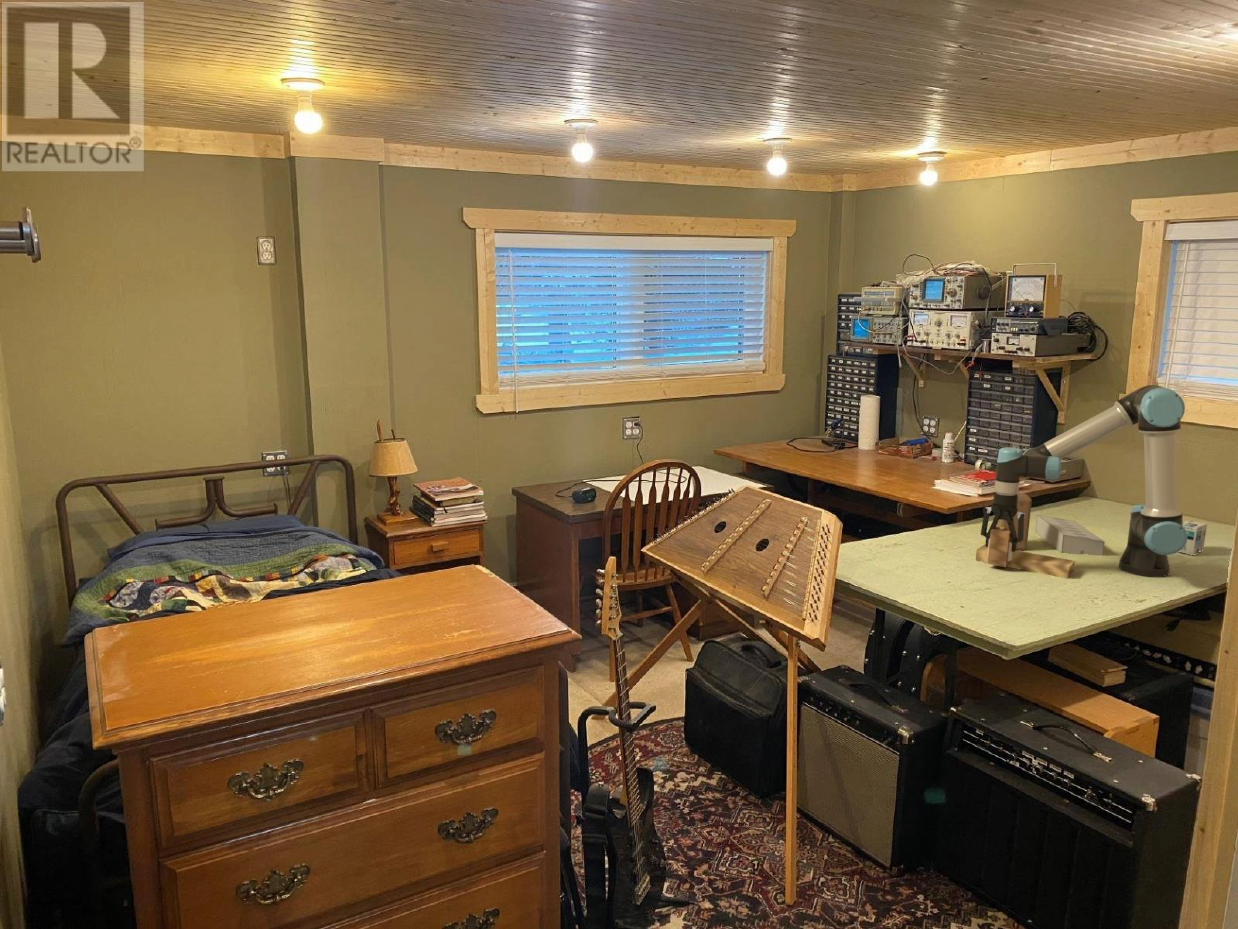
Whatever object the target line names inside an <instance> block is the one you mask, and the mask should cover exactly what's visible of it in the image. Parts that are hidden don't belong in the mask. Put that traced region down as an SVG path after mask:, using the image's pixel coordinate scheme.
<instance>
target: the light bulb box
mask: <svg viewBox="0 0 1238 929" xmlns="http://www.w3.org/2000/svg"><path fill="white" fill-rule="evenodd" d="M1207 526H1208V523H1203V522H1199V521H1193V520H1189V519H1188V520H1185V521H1183V527H1184V528H1185V531H1186V533H1187V542H1186V545H1185V546H1184V547H1183V549H1181V550H1180V552H1184V553H1187V554H1192V555H1194V554H1196V553H1198V552H1199V551H1202V550H1203V551H1204V548H1205V540H1206V534H1207V530H1208V527H1207ZM1187 554H1186V555H1187ZM1196 555H1197V554H1196ZM1194 556H1195V555H1194Z"/></svg>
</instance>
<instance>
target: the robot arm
mask: <svg viewBox="0 0 1238 929" xmlns="http://www.w3.org/2000/svg"><path fill="white" fill-rule="evenodd" d="M1185 410H1186V405H1185V402H1184V400H1183V398H1182V397H1181V395H1180V394H1178V393H1177V392H1176V391H1175V390H1172V389H1171V388H1167V387H1162V386H1159V385H1156V384H1155V385H1154V384H1150V385H1145V386H1142V387H1139V388H1137V389H1136V390H1134V391H1131V392H1130V393H1129V394H1127V395H1125V396H1123V397H1121V398H1120V399H1118V400H1116V401H1115V402H1114V404H1113V406H1111V407H1109V408H1108V409H1105V410H1103V411H1102V412H1100V413H1098V414H1096V415H1094V416H1093V417H1090V418H1088V419H1087V420H1085V421H1083V422H1081V423H1080V424H1077V425H1076V426H1073V427H1072V428H1070V429H1068V430H1066V431H1065V432H1063V433H1061V434H1059V435H1057V436H1055V437H1053V438H1051V439H1049V440H1047V441H1046V442H1044V443H1043V444H1040V445H1039V446H1036V447H1030V448H1027V449H1026V450H1024V452H1023V449H1022V448H1018V447H1008V446H1006V447H1002V448H999V451H998V454H997V455H998V456H997V460H996V469H995V471H996V472H995V481H994V493H993V502H992V505H991V506H990V507H989V506H986V507H984V508H983V509H982V512H983V518H982V524H981V529H980V535H981V536H982V537H984V538H985V543H984V544H985V546H986V547H988V553H989V543H990V533H991V530H992V529H994V528H995V527H996V525H997V523H998V521H999V519H1000V520H1002V519H1003V520H1006V521H1007V523H1008V526H1009V531H1010V532H1011V534H1010V535H1011V539H1012V541H1011V542H1010V543H1009V552H1008V561H1011V560H1012V555H1013V552H1015V551H1016V547H1017V542H1021V541H1023V536H1024V518H1025V516H1026V513H1022V512H1019V511H1018V509H1017V501H1018V495H1017V493H1019V490H1020V482H1021V481H1020V480H1021V478H1029V479H1030V478H1031V479H1043V480H1045V479H1046V480H1056V479H1059V478H1060V475H1061V472H1062V461H1061V460H1063V459H1064V458H1066V457H1068V456H1070V455H1072V454H1074V453H1076V452H1078V451H1080V450H1081V449H1082V450H1083V449H1084V448H1085V447H1087V446H1089V445H1091V444H1093V443H1094V442H1097V441H1098V440H1101V439H1103V438H1104V437H1106V436H1108V435H1110V434H1112V433H1114V432H1116V431H1118V430H1120V429H1122V428H1124V427H1126V426H1131V427H1133V426H1134V425H1136V424H1137V425H1138V426H1137V427H1138V430H1137V431H1138V432H1139V433H1141V434H1142V435H1143V445H1144V446H1143V447H1144V448H1143V449H1144V452H1143V453H1144V476H1145V477H1144V483H1145V484H1144V485H1145V486H1144V487H1145V490H1144V492H1145V504H1142V503H1141V504H1135V505H1133V506H1132V508H1131V512H1130V519H1129V520H1130V521H1129V529H1128V537H1127V543H1126V544H1127V545H1126V547H1125V549H1124V551H1123V553H1122V555H1121V556H1120V558H1119V561H1118V568H1119V569H1120V570H1122V571H1124V572H1126V573H1130V574H1134V575H1136V576H1137V575H1138V576H1142V577H1143V576H1144V577H1152V578H1153V577H1154V576H1163V577H1165V576H1164V575H1167V576H1169V575H1170V571H1171V566H1170V562H1169V558H1168V556H1170V555H1173V554H1176V553H1177V552H1179V551H1180V550H1181V549H1183V547H1184V546H1185V545H1186V542H1187V533H1186V531H1185V528H1184V527H1183V522H1184V521H1183V511H1182V510H1181V509H1180V508H1179V507H1178V505H1177V498H1178V497H1177V459H1176V458H1177V457H1176V456H1177V454H1176V452H1177V451H1176V450H1177V449H1176V447H1177V446H1176V434H1177V433H1178V432H1179V431H1180V430H1182V429H1181V427H1182V426H1181V425H1182V424H1181V420H1182V419H1183V417H1184V415H1185V412H1186V411H1185ZM990 513H993V515H994V517H993V520H992V522H991V525H990V526H989V528H988V525H989V520H990ZM1016 514H1017V515H1018V518H1019V520H1018V538H1017V535H1016V530H1015V526H1014V520H1013V517H1014V516H1015V515H1016ZM987 557H988V554H987ZM1168 574H1169V575H1168Z"/></svg>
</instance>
